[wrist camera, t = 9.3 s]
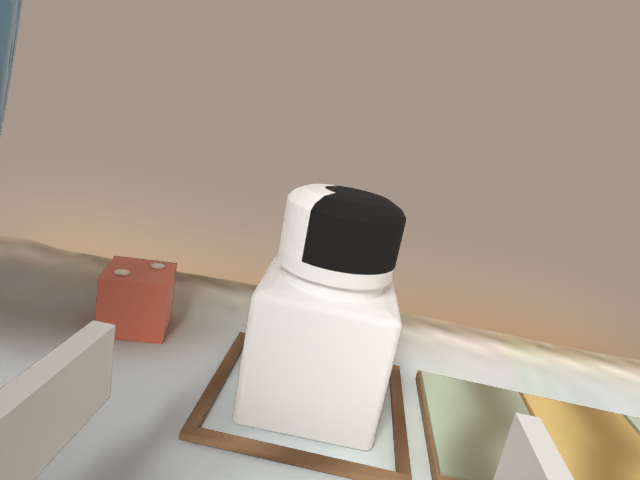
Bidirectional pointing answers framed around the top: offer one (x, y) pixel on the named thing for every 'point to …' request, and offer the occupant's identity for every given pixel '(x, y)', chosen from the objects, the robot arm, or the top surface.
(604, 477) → the track
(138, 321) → the die
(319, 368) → the medicine bottle
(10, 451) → the robot arm
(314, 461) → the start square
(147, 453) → the top surface
